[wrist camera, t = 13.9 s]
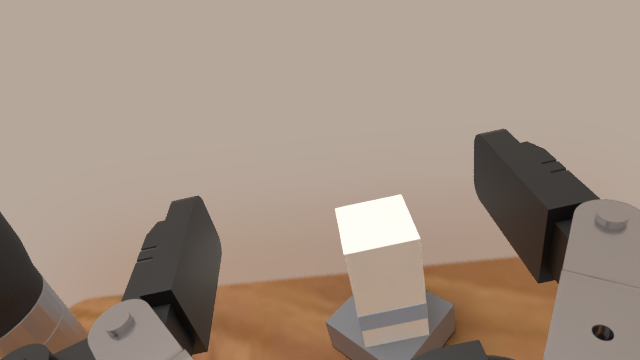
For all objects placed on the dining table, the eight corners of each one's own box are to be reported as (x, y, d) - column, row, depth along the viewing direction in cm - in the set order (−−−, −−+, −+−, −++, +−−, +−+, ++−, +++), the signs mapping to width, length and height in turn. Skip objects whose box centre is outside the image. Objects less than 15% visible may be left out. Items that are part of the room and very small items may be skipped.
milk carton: (429, 335, 39) (421, 239, 32) (365, 348, 39) (343, 255, 32) (412, 285, 44) (401, 193, 37) (354, 297, 44) (334, 208, 38)
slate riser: (403, 398, 38) (399, 373, 36) (332, 345, 44) (325, 322, 42) (454, 330, 43) (453, 304, 41) (384, 290, 49) (380, 266, 47)
